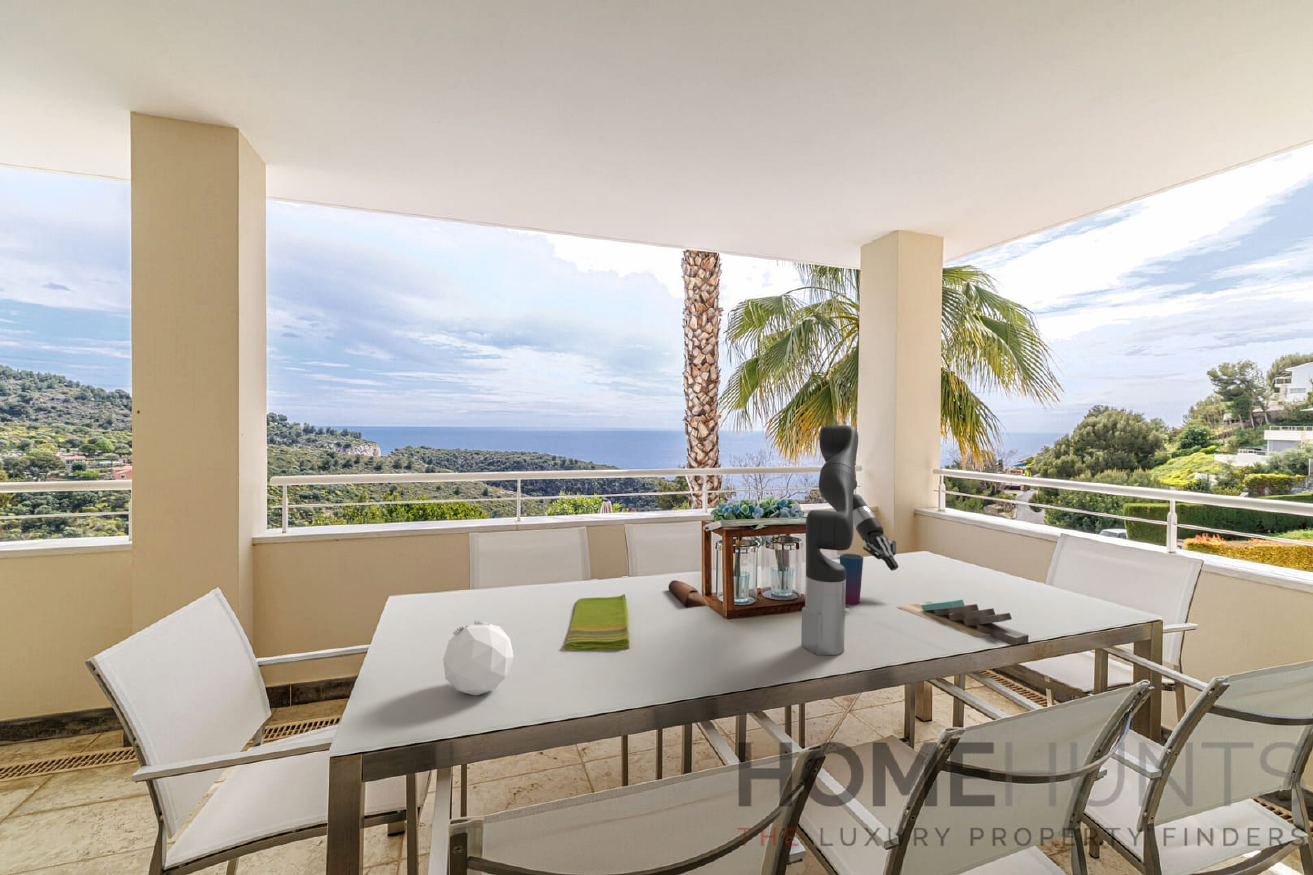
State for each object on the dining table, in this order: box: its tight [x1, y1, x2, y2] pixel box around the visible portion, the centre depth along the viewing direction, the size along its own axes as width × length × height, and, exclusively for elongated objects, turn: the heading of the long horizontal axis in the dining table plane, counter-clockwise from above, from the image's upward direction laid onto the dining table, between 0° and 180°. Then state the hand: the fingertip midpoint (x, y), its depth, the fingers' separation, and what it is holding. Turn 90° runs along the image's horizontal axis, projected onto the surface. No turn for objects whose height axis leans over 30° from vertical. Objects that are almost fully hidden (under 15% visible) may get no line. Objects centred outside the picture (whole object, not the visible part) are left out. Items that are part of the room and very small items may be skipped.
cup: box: [839, 553, 864, 608], centre depth 166 cm, size 7×7×15 cm
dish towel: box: [564, 593, 630, 651], centre depth 148 cm, size 15×36×3 cm, turn 4°
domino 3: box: [949, 608, 996, 621], centre depth 148 cm, size 5×2×10 cm
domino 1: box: [921, 599, 965, 611], centre depth 156 cm, size 5×2×10 cm
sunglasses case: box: [668, 579, 710, 609], centre depth 171 cm, size 18×7×7 cm, turn 15°
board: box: [895, 601, 989, 638], centre depth 153 cm, size 14×25×1 cm, turn 25°
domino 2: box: [934, 603, 980, 616], centre depth 152 cm, size 5×2×10 cm
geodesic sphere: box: [442, 620, 515, 696], centre depth 109 cm, size 14×14×14 cm
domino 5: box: [977, 622, 1030, 645], centre depth 140 cm, size 5×2×10 cm
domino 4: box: [963, 612, 1012, 626], centre depth 144 cm, size 5×2×10 cm
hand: (895, 568), depth 170 cm, fingers closed
